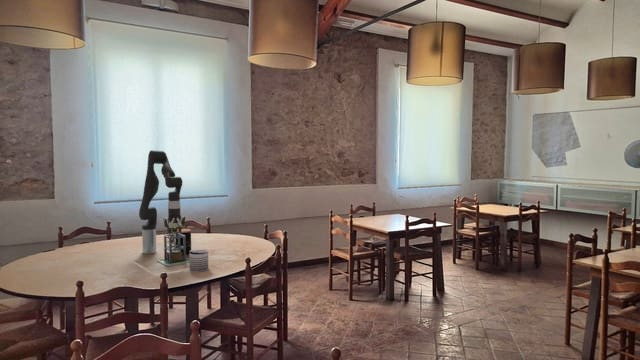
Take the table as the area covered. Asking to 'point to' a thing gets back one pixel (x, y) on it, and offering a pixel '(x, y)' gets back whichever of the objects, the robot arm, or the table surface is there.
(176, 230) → the plunger
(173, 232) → the ceramic jug
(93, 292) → the table surface
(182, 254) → the press frame
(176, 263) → the tray
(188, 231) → the coffee jar
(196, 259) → the can
